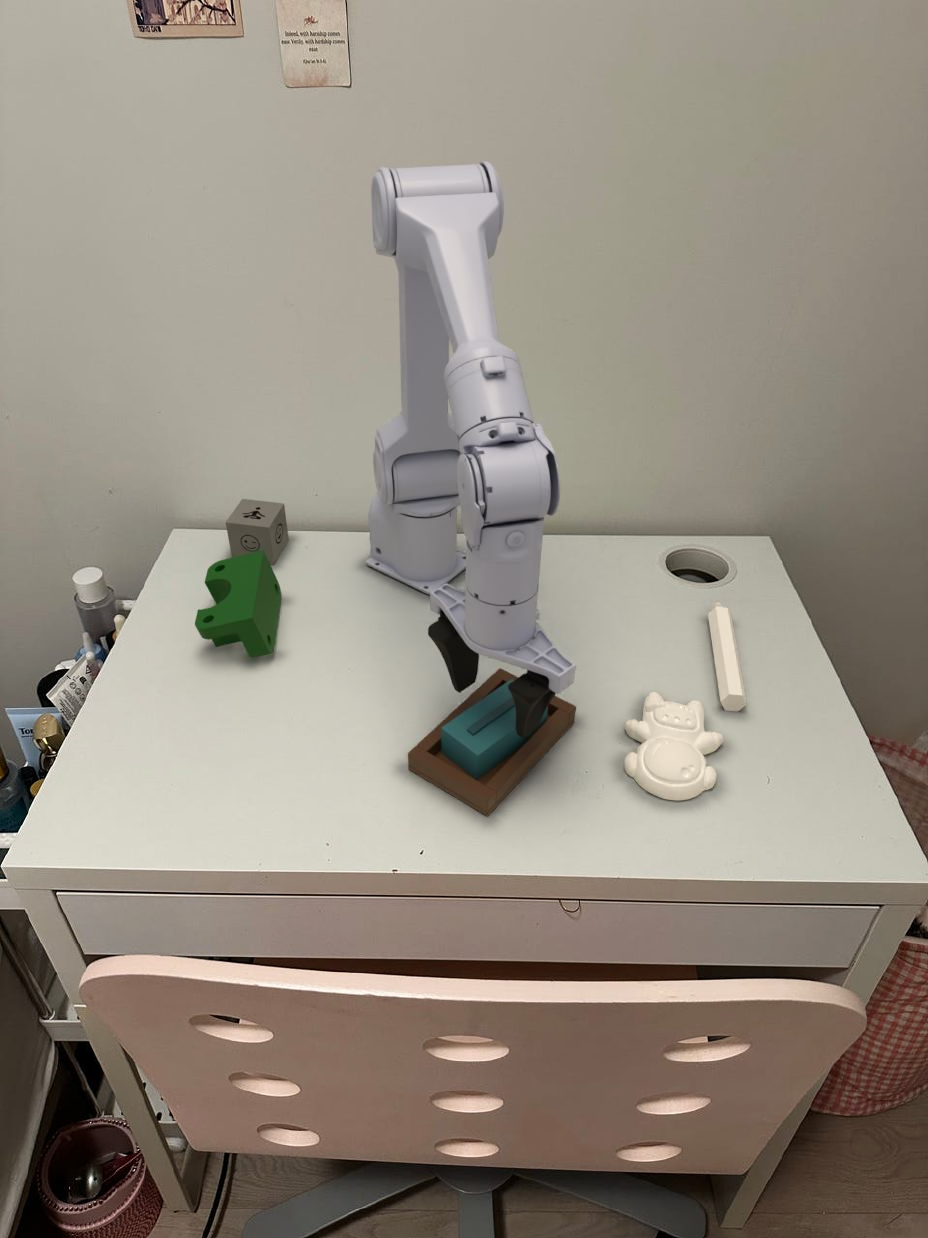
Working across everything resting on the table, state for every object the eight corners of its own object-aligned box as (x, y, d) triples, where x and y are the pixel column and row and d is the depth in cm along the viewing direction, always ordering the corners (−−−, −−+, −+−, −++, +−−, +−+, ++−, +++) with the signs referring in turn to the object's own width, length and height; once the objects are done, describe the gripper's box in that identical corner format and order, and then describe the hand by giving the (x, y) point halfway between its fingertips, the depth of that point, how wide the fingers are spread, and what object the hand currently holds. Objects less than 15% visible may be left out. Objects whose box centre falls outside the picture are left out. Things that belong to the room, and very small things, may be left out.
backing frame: (487, 817, 78) (488, 800, 76) (408, 769, 82) (407, 753, 80) (574, 722, 86) (576, 706, 85) (499, 683, 90) (499, 667, 89)
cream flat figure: (726, 716, 87) (733, 693, 85) (709, 812, 78) (716, 788, 77) (634, 694, 89) (638, 671, 87) (608, 785, 81) (612, 761, 79)
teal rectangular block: (476, 780, 80) (477, 753, 78) (440, 752, 82) (440, 725, 80) (546, 728, 85) (549, 700, 83) (510, 703, 87) (511, 675, 85)
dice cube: (232, 559, 106) (225, 522, 102) (248, 534, 109) (242, 498, 106) (274, 564, 105) (268, 527, 102) (288, 539, 109) (284, 503, 106)
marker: (715, 611, 101) (733, 715, 88) (700, 602, 100) (716, 705, 88) (732, 596, 99) (752, 699, 87) (716, 586, 99) (735, 689, 86)
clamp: (239, 638, 102) (213, 559, 99) (292, 625, 101) (267, 546, 99) (208, 676, 90) (177, 588, 88) (266, 663, 90) (238, 573, 87)
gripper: (607, 603, 71) (589, 728, 79) (472, 526, 79) (469, 647, 87) (545, 645, 67) (534, 771, 75) (410, 559, 75) (413, 683, 83)
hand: (495, 707), depth 81 cm, fingers open, 7 cm apart
